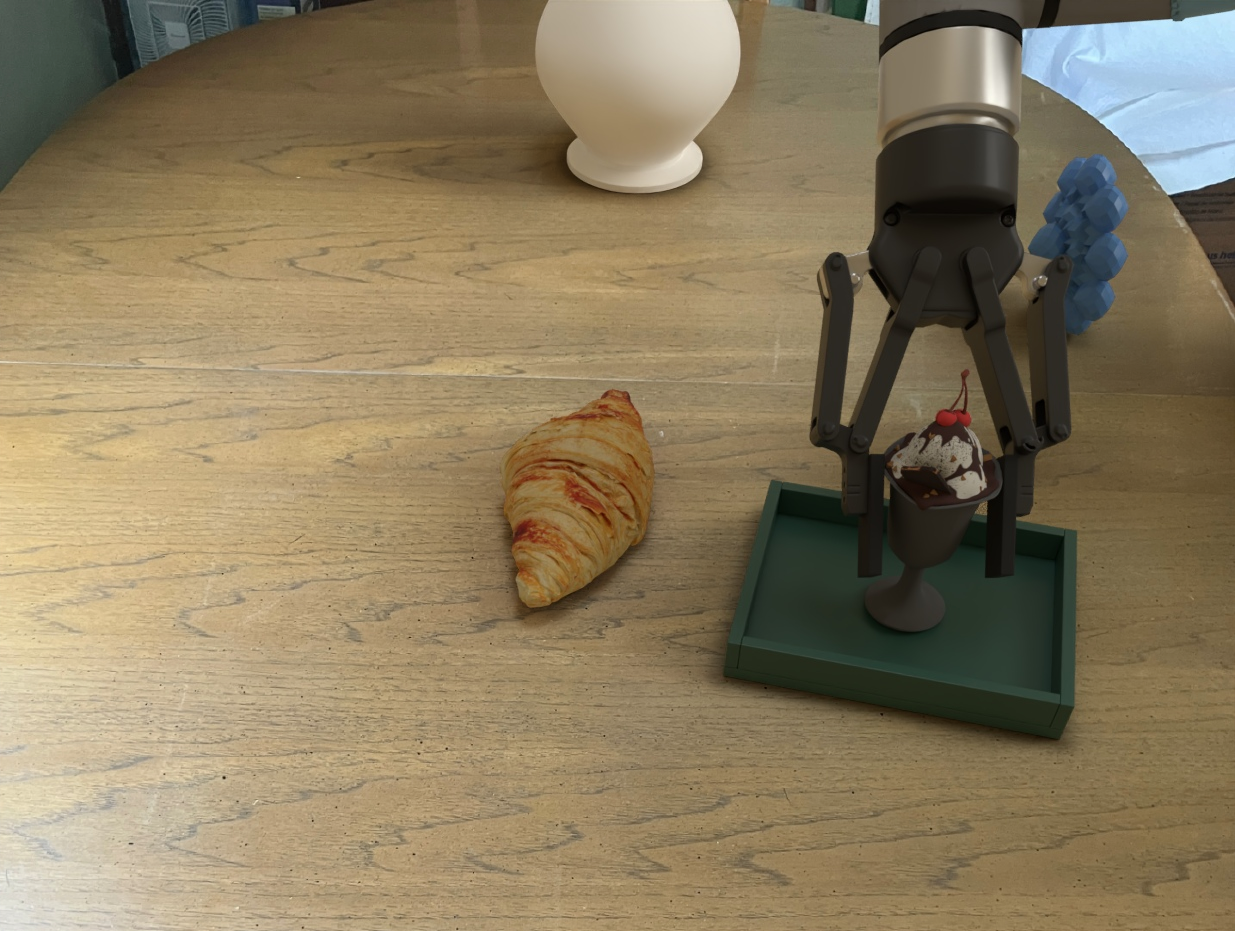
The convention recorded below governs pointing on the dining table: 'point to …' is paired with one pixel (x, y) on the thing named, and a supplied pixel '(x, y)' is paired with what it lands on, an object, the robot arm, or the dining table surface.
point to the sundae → (930, 512)
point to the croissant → (577, 496)
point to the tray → (898, 660)
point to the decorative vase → (637, 84)
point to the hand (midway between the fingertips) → (934, 575)
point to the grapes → (1085, 237)
